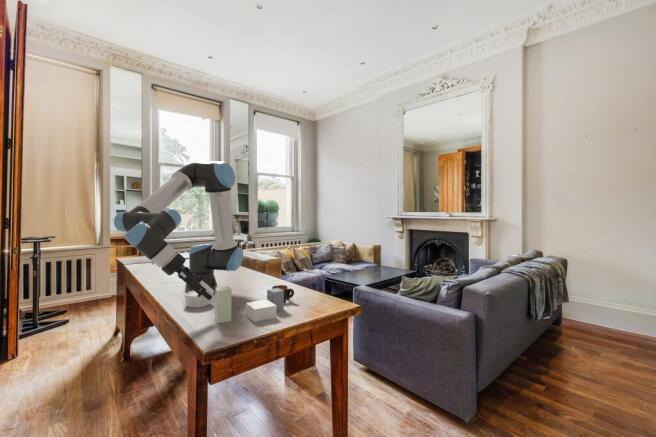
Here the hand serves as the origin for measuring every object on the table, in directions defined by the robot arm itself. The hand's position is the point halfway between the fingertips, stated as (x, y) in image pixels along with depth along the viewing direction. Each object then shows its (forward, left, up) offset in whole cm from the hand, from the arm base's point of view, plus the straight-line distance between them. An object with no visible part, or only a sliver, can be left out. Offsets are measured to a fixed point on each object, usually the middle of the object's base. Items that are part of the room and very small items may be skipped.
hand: (214, 298), depth 111 cm
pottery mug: (-14, +32, -9) cm, 36 cm away
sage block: (-1, +3, -9) cm, 9 cm away
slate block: (-5, +25, -9) cm, 27 cm away
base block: (+1, +17, -9) cm, 20 cm away
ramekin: (-24, -3, -9) cm, 26 cm away
